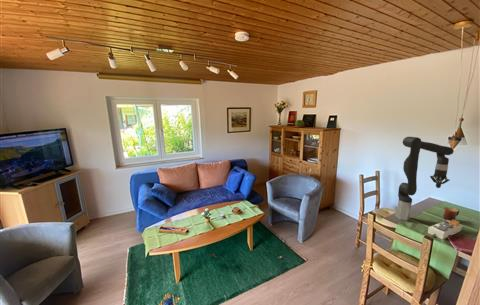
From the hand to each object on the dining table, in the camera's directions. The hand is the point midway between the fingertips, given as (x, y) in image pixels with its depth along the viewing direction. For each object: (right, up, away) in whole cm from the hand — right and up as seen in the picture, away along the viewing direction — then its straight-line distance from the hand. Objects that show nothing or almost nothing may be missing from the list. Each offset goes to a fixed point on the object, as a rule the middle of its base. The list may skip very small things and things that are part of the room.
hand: (437, 187), depth 173 cm
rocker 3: (-3, -26, -16) cm, 31 cm away
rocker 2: (-11, -27, -19) cm, 35 cm away
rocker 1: (-19, -27, -22) cm, 40 cm away
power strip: (-14, -33, -17) cm, 40 cm away
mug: (+12, -29, +1) cm, 32 cm away
